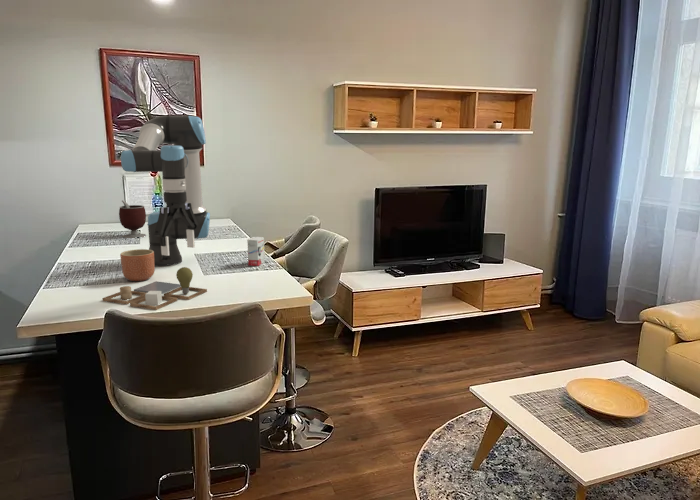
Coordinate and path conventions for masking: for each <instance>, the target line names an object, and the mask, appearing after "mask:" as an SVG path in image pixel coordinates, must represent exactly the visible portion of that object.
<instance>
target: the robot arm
mask: <svg viewBox="0 0 700 500" xmlns="http://www.w3.org/2000/svg"><path fill="white" fill-rule="evenodd" d="M138 133H139V137H138V139H137V141H136V142H135V145H134V146H133V148H132V150H131V149H127V150H122V151H121V154H120V163H121V167H122V168H121V169H122V170H123V171H124V172H127V173H128V172H129V173H147V172H149V173H151V172H152V173H153V172H154V173H156V172H157V173H158V172H161V173H162V190H163V191H164V192H163V202H164V203H165V204H166V206H160V207H159V210H158V211H154V212H151V213H150V214H149V215H148V216H147V231H148V242H149V246H148V250H152V251H154V265H155V267H157V266H159V267H163V266H172V265H177V264H180V263H182V261H183V258H182V254H181V252H180V249H179V245H178V240H186V246H187V248H193V249H194V248H196V247H195V242H196V241H195V239H196V240H199V239H206V238H207V237H208V236H209V231H210V221H211V213H210V212H208V211H207V208H206V206H204V205H203V192H202V191H203V189H202V176H201V162H200V161H201V160H200V152H201V150H203V145H205V144H206V143H207V142H206V134H205V128H204V124H203V120H202V118H200V117H199V116H194V115H160V116H159V115H158V116H157V117H154V118H152V119H149V120H147V121H146V122H145V123H144V124H143V125H142V126H141V128H140V129H139V132H138ZM160 145H162V146H161V147H160V150H158V147H159V146H160Z"/></svg>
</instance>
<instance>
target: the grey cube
mask: <svg viewBox="0 0 700 500" xmlns="http://www.w3.org/2000/svg"><path fill="white" fill-rule="evenodd" d="M162 296H163V294H162V293H161V291H149V292H148V293H146V294H145V298H146V301H145V305H150V306H158V305H160V304H162V303H163V299H162Z"/></svg>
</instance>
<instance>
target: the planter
mask: <svg viewBox="0 0 700 500" xmlns="http://www.w3.org/2000/svg"><path fill="white" fill-rule="evenodd" d="M120 264H121V271H122V275H123V277H124V278H125V279H126V280H129V281H130V282H144V281H147V280H149V279H150V278H152V277H153V275H154V274H155V270H156V269H155V267H156V266H155V265H154V251H152V250H149V249H146V248H145V249H144V248H141V249H130V250H125V251H121V253H120Z"/></svg>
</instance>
